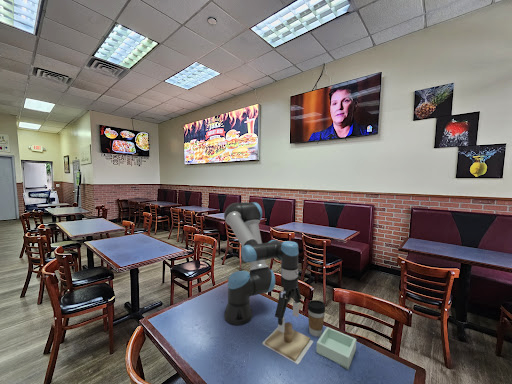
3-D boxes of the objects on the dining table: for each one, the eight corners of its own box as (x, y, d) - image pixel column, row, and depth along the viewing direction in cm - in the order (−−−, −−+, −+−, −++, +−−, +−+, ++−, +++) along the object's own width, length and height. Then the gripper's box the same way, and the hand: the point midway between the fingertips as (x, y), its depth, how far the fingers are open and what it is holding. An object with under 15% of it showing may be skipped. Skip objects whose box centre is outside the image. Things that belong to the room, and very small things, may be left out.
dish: (316, 353, 93) (316, 342, 92) (326, 336, 103) (327, 326, 103) (348, 370, 85) (348, 357, 84) (356, 349, 95) (356, 338, 95)
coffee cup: (325, 340, 100) (326, 309, 100) (306, 338, 102) (307, 307, 101) (323, 328, 108) (324, 299, 108) (306, 326, 110) (307, 297, 109)
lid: (264, 344, 97) (265, 326, 96) (281, 326, 109) (282, 311, 108) (295, 361, 88) (295, 342, 87) (310, 340, 100) (310, 323, 99)
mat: (261, 344, 97) (261, 343, 97) (279, 326, 110) (279, 325, 110) (298, 365, 86) (298, 364, 86) (313, 342, 99) (313, 341, 99)
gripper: (282, 289, 84) (282, 342, 85) (308, 270, 104) (308, 313, 105) (266, 284, 89) (266, 334, 90) (294, 266, 109) (294, 307, 109)
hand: (288, 323), depth 97 cm, fingers open, 13 cm apart
